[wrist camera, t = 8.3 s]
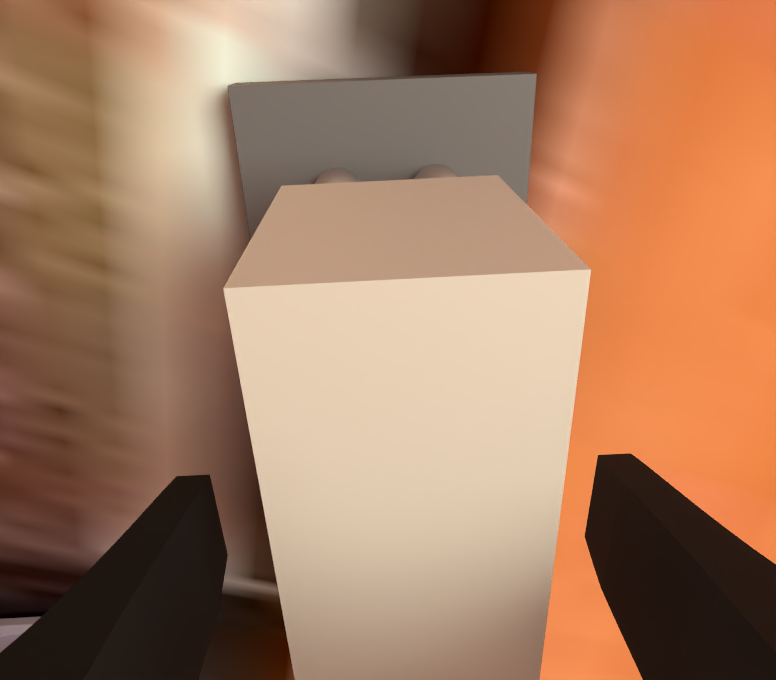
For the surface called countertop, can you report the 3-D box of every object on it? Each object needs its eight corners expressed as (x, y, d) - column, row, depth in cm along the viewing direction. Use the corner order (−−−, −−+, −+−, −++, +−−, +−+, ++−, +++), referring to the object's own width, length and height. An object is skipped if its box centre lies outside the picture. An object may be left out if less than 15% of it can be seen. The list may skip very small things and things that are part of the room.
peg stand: (496, 507, 21) (528, 620, 17) (297, 518, 20) (281, 634, 16) (525, 71, 14) (589, 83, 10) (236, 83, 14) (185, 99, 10)
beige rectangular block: (281, 185, 11) (223, 288, 6) (497, 174, 11) (591, 269, 6) (331, 595, 16) (319, 813, 11) (478, 586, 16) (523, 800, 11)
